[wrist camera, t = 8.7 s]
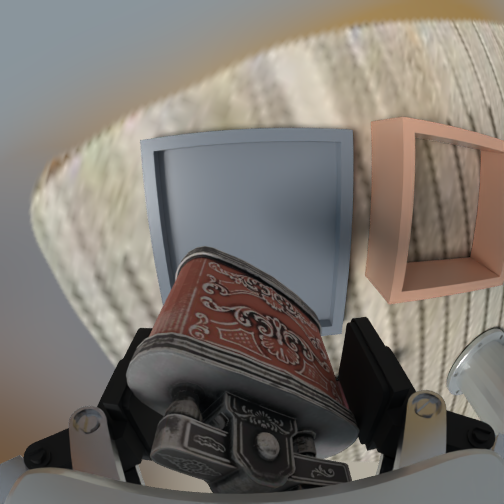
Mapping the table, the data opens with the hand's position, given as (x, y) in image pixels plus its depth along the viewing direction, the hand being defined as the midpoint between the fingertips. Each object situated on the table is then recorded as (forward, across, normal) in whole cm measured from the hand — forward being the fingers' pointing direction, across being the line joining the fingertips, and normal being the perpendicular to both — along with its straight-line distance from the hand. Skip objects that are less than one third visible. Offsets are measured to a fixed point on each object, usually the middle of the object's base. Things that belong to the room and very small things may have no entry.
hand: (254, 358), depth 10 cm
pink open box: (+15, -18, -3) cm, 24 cm away
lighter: (+5, 0, 0) cm, 5 cm away
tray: (+15, 0, 0) cm, 15 cm away
